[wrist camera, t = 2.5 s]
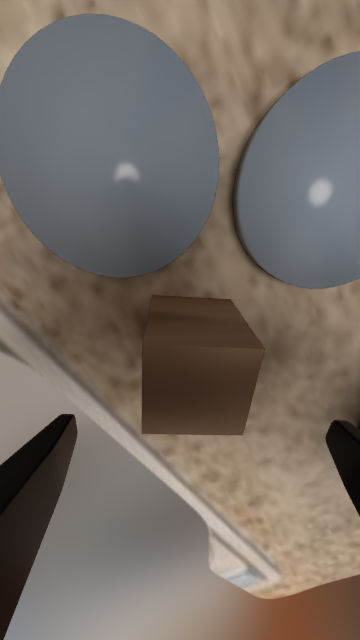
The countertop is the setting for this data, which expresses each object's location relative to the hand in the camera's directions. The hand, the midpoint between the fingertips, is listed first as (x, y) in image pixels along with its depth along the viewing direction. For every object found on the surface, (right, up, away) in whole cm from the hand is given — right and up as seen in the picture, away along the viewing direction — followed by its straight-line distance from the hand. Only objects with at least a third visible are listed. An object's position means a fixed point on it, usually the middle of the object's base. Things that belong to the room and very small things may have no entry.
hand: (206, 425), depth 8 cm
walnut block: (0, +3, +6) cm, 7 cm away
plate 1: (-4, +10, +3) cm, 11 cm away
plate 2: (+6, +10, +3) cm, 12 cm away
